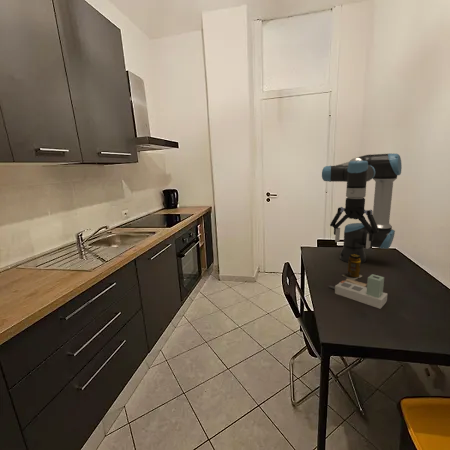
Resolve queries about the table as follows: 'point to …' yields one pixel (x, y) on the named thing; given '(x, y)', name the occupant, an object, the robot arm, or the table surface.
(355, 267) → the condiment
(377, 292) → the block
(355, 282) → the cork coaster
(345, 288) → the power strip
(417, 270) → the table surface
